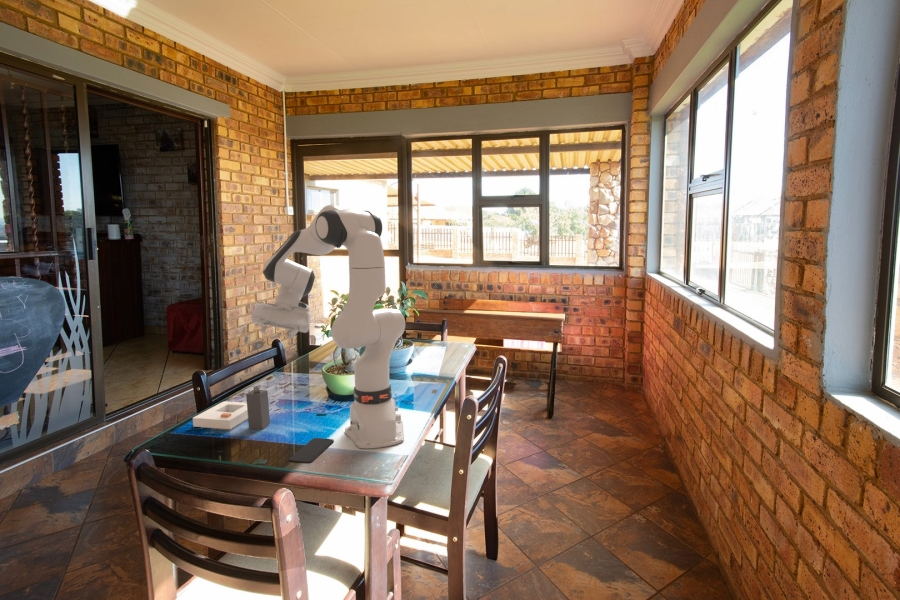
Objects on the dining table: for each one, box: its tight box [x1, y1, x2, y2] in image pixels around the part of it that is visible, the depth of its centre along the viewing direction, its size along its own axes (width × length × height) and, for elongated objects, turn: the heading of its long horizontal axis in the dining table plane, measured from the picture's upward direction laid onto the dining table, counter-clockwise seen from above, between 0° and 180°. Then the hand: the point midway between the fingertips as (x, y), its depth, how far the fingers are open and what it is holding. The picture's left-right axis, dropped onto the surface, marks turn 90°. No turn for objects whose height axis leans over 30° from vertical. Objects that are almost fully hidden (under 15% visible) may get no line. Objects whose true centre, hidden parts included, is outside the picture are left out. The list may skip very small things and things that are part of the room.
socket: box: [192, 400, 248, 432], centre depth 173 cm, size 16×14×4 cm
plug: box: [245, 385, 271, 431], centre depth 166 cm, size 4×5×14 cm
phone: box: [289, 437, 335, 464], centre depth 148 cm, size 7×1×15 cm
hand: (276, 334), depth 175 cm, fingers open, 8 cm apart
